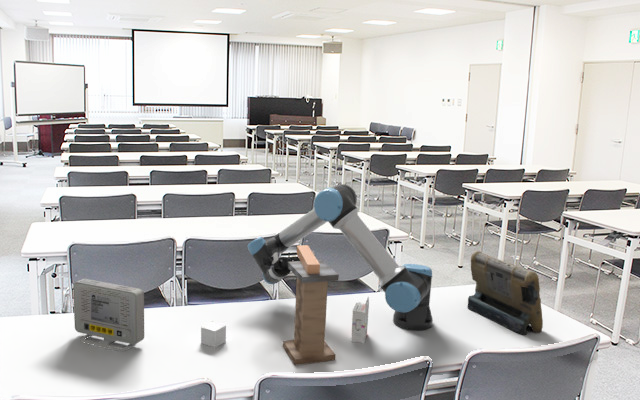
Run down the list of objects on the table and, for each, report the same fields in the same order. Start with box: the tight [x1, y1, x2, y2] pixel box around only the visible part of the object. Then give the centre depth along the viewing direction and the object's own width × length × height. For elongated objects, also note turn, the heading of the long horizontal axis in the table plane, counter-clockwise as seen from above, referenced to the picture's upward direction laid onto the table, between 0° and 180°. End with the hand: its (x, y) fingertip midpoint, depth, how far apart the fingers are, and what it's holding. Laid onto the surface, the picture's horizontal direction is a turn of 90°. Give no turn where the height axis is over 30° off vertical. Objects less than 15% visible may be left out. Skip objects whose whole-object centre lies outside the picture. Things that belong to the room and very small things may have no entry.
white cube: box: [200, 320, 227, 349], centre depth 196 cm, size 6×6×6 cm
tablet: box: [467, 250, 544, 336], centre depth 227 cm, size 33×14×25 cm, turn 34°
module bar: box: [296, 244, 320, 274], centre depth 191 cm, size 22×4×3 cm, turn 11°
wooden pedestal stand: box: [282, 259, 339, 366], centre depth 189 cm, size 16×14×30 cm
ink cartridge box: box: [350, 296, 370, 344], centre depth 204 cm, size 9×5×15 cm, turn 168°
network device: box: [72, 278, 145, 352], centre depth 191 cm, size 26×9×20 cm, turn 71°
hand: (295, 254), depth 201 cm, fingers open, 13 cm apart
